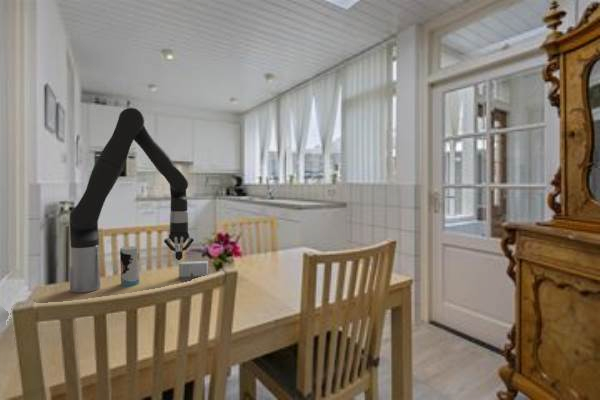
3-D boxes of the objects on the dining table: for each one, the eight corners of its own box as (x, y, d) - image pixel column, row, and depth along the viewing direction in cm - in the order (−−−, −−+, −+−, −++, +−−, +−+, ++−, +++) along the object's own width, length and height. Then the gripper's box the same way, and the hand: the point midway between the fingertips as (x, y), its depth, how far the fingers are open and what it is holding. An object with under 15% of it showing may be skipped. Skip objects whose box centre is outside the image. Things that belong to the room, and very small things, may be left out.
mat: (181, 281, 140) (181, 280, 140) (182, 271, 156) (182, 270, 156) (210, 279, 144) (210, 278, 144) (208, 269, 159) (208, 268, 159)
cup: (134, 280, 142) (134, 245, 141) (142, 283, 138) (141, 247, 137) (118, 283, 137) (117, 248, 136) (125, 287, 132) (124, 250, 132)
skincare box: (178, 264, 145) (206, 262, 147) (180, 261, 149) (208, 260, 151) (178, 277, 145) (207, 276, 147) (181, 274, 150) (208, 273, 151)
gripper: (162, 222, 141) (162, 262, 142) (194, 221, 145) (194, 260, 146) (163, 220, 148) (163, 258, 149) (194, 219, 152) (194, 257, 153)
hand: (179, 259), depth 147 cm, fingers closed
